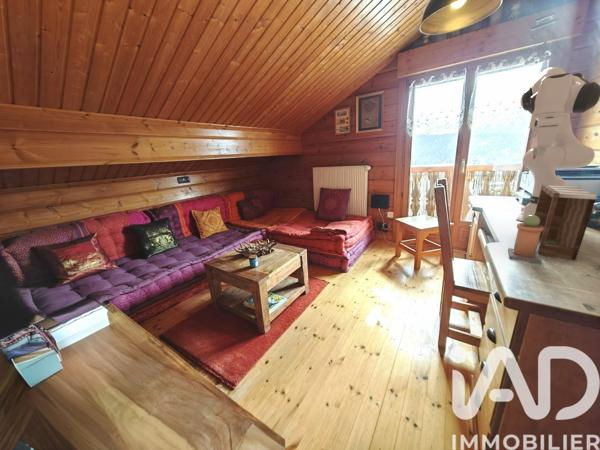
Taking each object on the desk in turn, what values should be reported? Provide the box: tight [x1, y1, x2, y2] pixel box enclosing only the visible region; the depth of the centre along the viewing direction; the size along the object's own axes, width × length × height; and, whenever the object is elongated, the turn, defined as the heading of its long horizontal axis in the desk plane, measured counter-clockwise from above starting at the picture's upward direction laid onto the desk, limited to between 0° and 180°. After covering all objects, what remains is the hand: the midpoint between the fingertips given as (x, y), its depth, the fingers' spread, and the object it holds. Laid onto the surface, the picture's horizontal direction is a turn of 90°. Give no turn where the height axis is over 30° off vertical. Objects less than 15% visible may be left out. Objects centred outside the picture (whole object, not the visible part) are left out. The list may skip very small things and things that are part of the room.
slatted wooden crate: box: [534, 184, 598, 261], centre depth 93 cm, size 25×10×24 cm, turn 143°
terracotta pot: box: [513, 215, 544, 257], centre depth 86 cm, size 7×7×15 cm
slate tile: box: [507, 247, 542, 265], centre depth 88 cm, size 9×8×1 cm
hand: (536, 159), depth 94 cm, fingers open, 8 cm apart
